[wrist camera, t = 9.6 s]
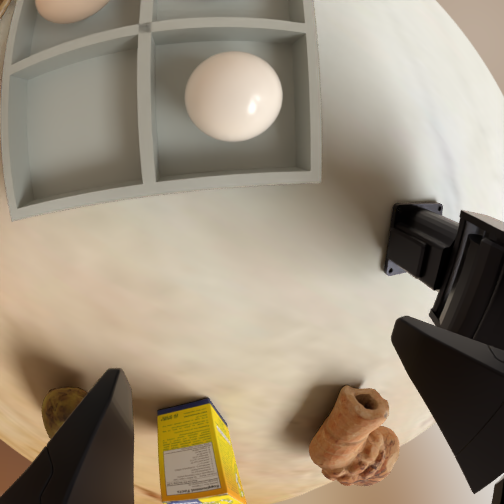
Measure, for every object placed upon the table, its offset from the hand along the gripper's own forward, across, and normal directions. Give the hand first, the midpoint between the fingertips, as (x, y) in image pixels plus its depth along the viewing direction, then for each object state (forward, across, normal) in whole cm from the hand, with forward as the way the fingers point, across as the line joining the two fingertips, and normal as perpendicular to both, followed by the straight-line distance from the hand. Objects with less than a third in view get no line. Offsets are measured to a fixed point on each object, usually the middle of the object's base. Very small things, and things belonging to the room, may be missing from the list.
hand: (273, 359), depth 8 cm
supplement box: (+12, +5, +20) cm, 24 cm away
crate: (+12, +4, -13) cm, 18 cm away
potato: (+12, +17, +16) cm, 26 cm away
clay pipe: (+12, -15, +30) cm, 35 cm away
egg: (+11, -1, -8) cm, 14 cm away
